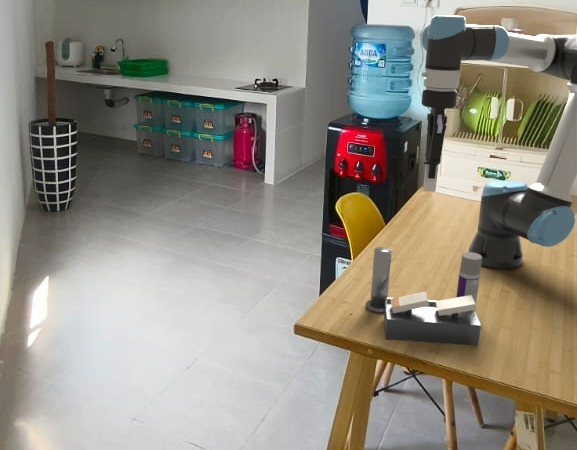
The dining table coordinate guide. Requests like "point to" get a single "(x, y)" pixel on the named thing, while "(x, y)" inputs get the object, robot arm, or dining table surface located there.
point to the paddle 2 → (455, 305)
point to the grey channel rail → (431, 325)
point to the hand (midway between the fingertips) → (429, 190)
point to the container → (469, 275)
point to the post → (379, 280)
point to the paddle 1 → (409, 302)
